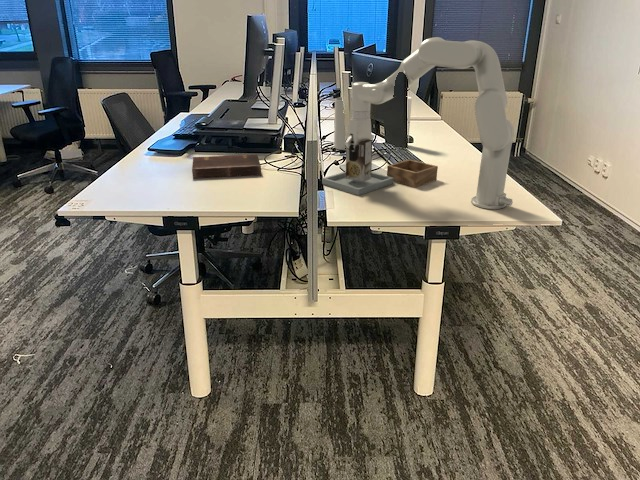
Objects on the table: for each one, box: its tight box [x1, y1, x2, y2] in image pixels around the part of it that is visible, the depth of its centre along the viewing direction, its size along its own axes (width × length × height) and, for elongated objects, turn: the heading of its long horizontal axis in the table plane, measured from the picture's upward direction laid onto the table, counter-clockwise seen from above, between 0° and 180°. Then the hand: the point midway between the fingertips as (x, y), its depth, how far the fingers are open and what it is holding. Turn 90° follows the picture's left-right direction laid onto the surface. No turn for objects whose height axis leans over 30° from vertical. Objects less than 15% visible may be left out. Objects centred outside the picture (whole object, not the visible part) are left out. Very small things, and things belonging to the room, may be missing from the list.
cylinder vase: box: [333, 96, 346, 151], centre depth 268 cm, size 12×12×25 cm
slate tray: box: [321, 171, 395, 196], centre depth 216 cm, size 20×22×2 cm
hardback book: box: [191, 154, 262, 180], centre depth 232 cm, size 29×19×5 cm, turn 101°
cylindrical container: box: [407, 96, 413, 142], centre depth 273 cm, size 7×7×25 cm
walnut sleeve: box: [386, 159, 439, 188], centre depth 221 cm, size 15×15×6 cm
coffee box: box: [345, 139, 374, 182], centre depth 212 cm, size 9×6×16 cm
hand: (359, 158), depth 212 cm, fingers closed on coffee box, 7 cm apart
